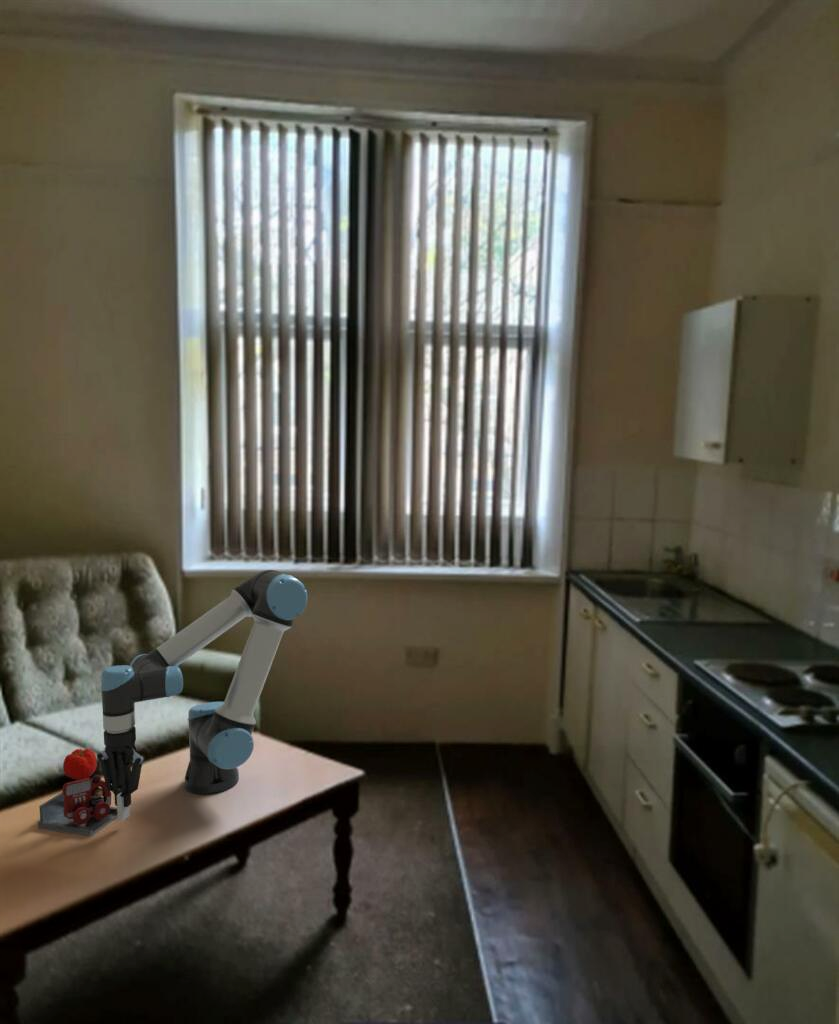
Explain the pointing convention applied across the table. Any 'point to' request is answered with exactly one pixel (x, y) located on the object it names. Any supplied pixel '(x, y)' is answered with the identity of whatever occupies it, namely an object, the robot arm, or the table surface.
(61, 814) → the grey l-shaped tray
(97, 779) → the toy fire truck
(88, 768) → the tomato
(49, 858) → the table surface
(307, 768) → the table surface
